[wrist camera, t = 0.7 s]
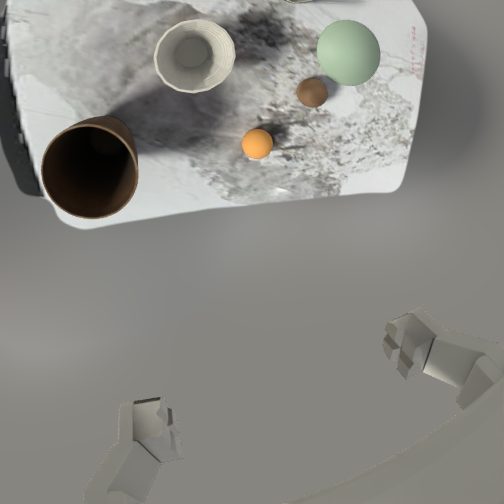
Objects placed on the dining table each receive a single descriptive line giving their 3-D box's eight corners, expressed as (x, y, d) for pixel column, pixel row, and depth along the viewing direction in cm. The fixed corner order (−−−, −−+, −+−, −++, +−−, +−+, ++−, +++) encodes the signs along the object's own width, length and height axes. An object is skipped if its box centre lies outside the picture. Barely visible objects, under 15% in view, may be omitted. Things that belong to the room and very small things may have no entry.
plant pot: (165, 127, 49) (159, 163, 37) (119, 185, 54) (104, 235, 42) (101, 83, 40) (71, 103, 28) (60, 147, 45) (27, 189, 33)
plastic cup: (235, 37, 40) (250, 37, 31) (207, 89, 46) (214, 104, 37) (177, 14, 35) (175, 7, 26) (149, 69, 41) (140, 78, 32)
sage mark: (352, 7, 38) (353, 7, 38) (390, 60, 46) (390, 60, 46) (301, 47, 43) (302, 47, 43) (345, 98, 51) (345, 99, 51)
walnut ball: (307, 70, 46) (320, 74, 42) (325, 90, 49) (338, 97, 45) (286, 89, 48) (296, 95, 44) (305, 108, 51) (316, 117, 47)
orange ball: (254, 119, 51) (261, 128, 47) (274, 137, 55) (282, 148, 50) (233, 140, 53) (238, 151, 49) (253, 157, 57) (260, 169, 53)
